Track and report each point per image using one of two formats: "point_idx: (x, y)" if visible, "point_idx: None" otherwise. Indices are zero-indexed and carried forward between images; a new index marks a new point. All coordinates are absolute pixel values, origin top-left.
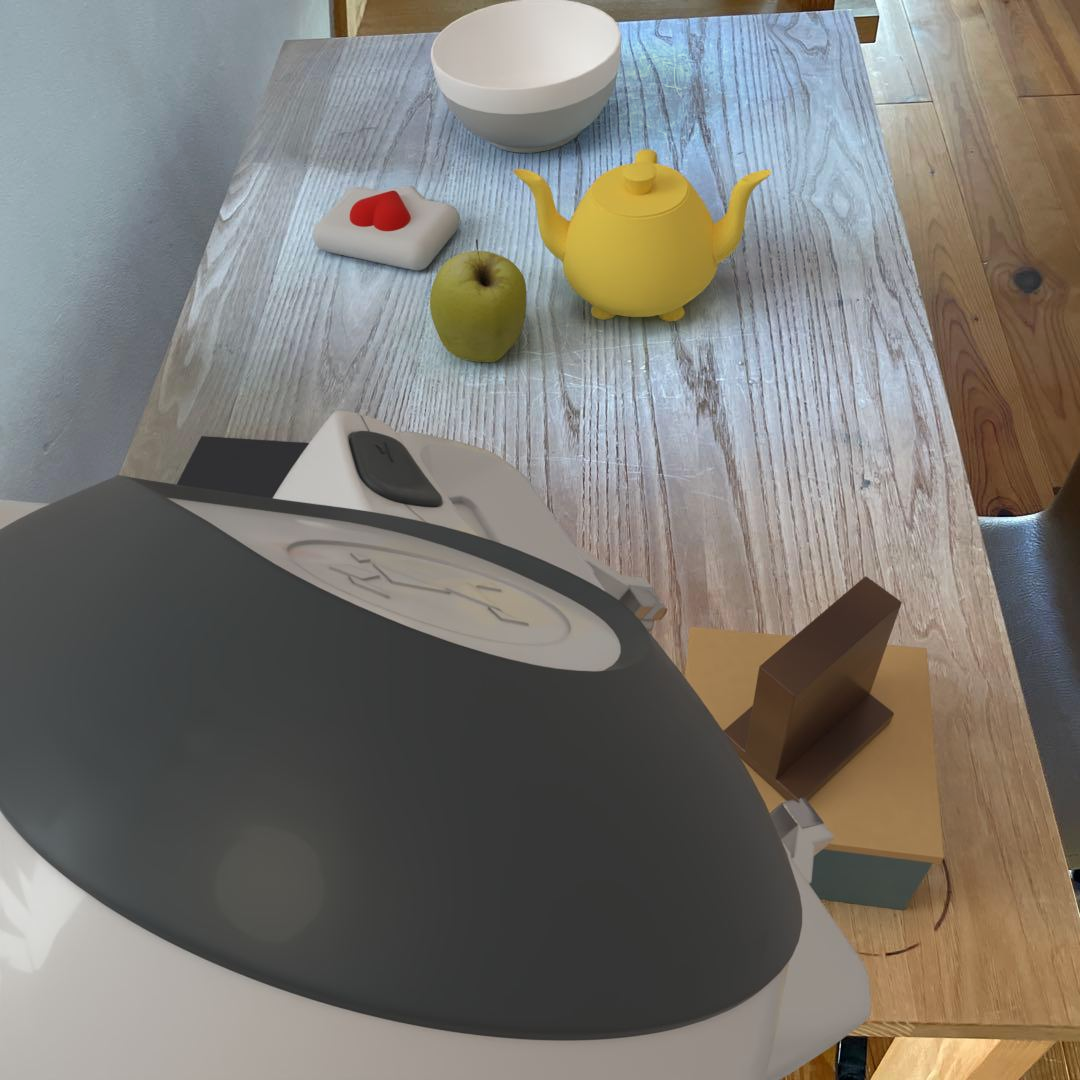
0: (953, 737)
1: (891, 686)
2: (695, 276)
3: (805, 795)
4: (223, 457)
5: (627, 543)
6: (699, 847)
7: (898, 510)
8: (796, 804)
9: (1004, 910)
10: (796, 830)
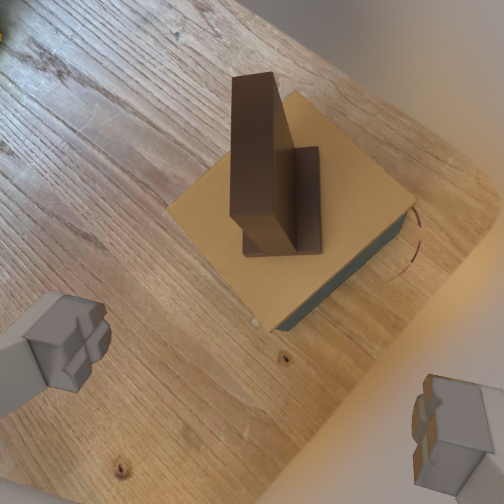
0: (339, 123)
1: (299, 131)
2: None
3: (320, 243)
4: None
5: (97, 186)
6: None
7: (205, 33)
8: (444, 411)
9: (439, 184)
10: (497, 471)
